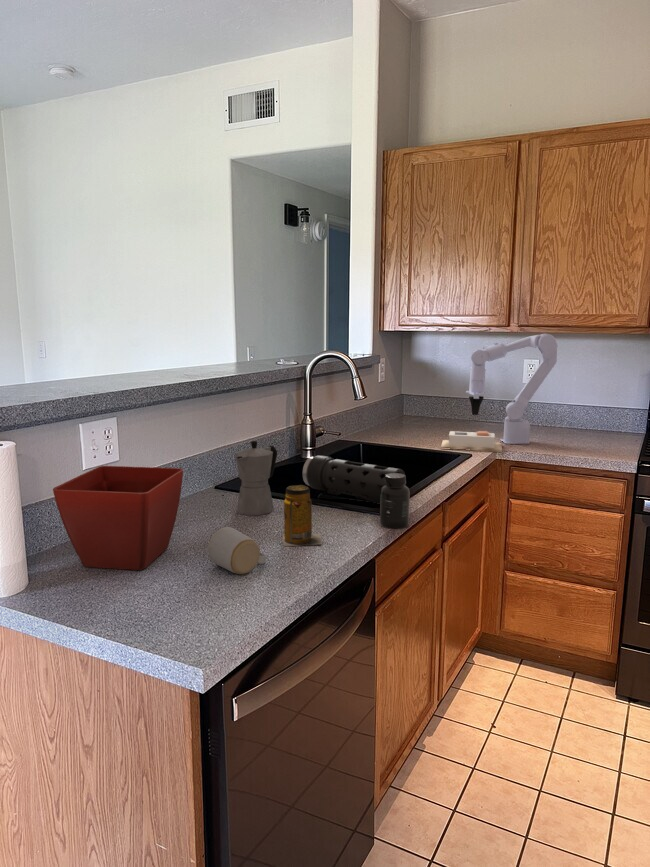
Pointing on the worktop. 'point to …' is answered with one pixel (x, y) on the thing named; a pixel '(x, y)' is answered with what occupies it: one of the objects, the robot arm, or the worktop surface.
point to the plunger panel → (471, 440)
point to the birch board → (496, 447)
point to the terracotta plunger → (482, 433)
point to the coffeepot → (255, 479)
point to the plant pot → (120, 514)
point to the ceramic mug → (234, 551)
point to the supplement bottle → (394, 502)
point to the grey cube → (461, 433)
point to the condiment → (298, 518)
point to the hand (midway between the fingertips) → (475, 414)
